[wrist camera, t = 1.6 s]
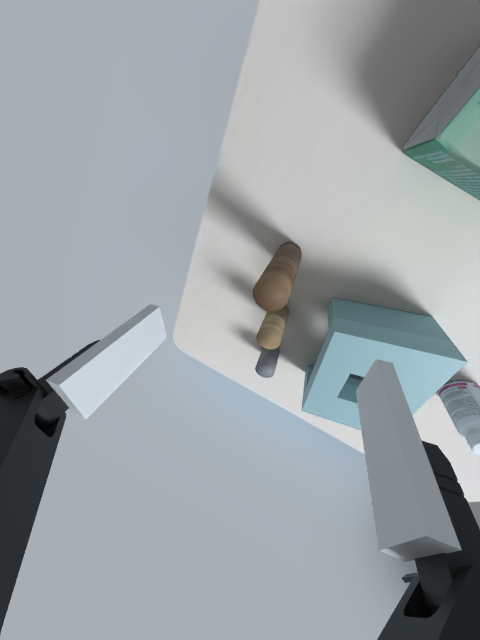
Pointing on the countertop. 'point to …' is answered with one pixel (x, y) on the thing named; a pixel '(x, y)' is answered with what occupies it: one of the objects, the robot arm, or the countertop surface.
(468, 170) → the box
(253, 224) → the countertop surface
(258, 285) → the walnut pin
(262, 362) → the charcoal pin
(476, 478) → the countertop surface
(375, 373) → the robot arm
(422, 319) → the bridge
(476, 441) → the pill bottle
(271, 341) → the oak pin
